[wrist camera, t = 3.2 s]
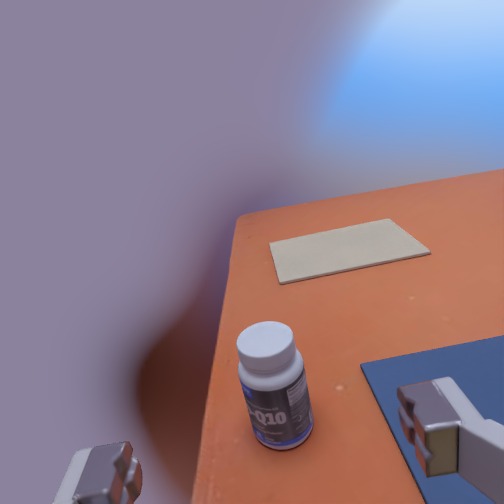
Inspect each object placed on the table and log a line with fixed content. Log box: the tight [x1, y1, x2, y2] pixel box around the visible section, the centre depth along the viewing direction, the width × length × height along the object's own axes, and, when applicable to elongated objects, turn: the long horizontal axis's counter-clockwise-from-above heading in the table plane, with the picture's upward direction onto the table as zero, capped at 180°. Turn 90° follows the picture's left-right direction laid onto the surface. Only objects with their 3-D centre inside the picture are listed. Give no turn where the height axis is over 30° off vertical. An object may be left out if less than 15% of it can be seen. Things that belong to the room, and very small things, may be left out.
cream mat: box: [269, 218, 431, 285], centre depth 55 cm, size 20×14×1 cm
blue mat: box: [360, 335, 504, 504], centre depth 27 cm, size 16×13×1 cm
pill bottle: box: [237, 321, 313, 450], centre depth 28 cm, size 5×5×8 cm
